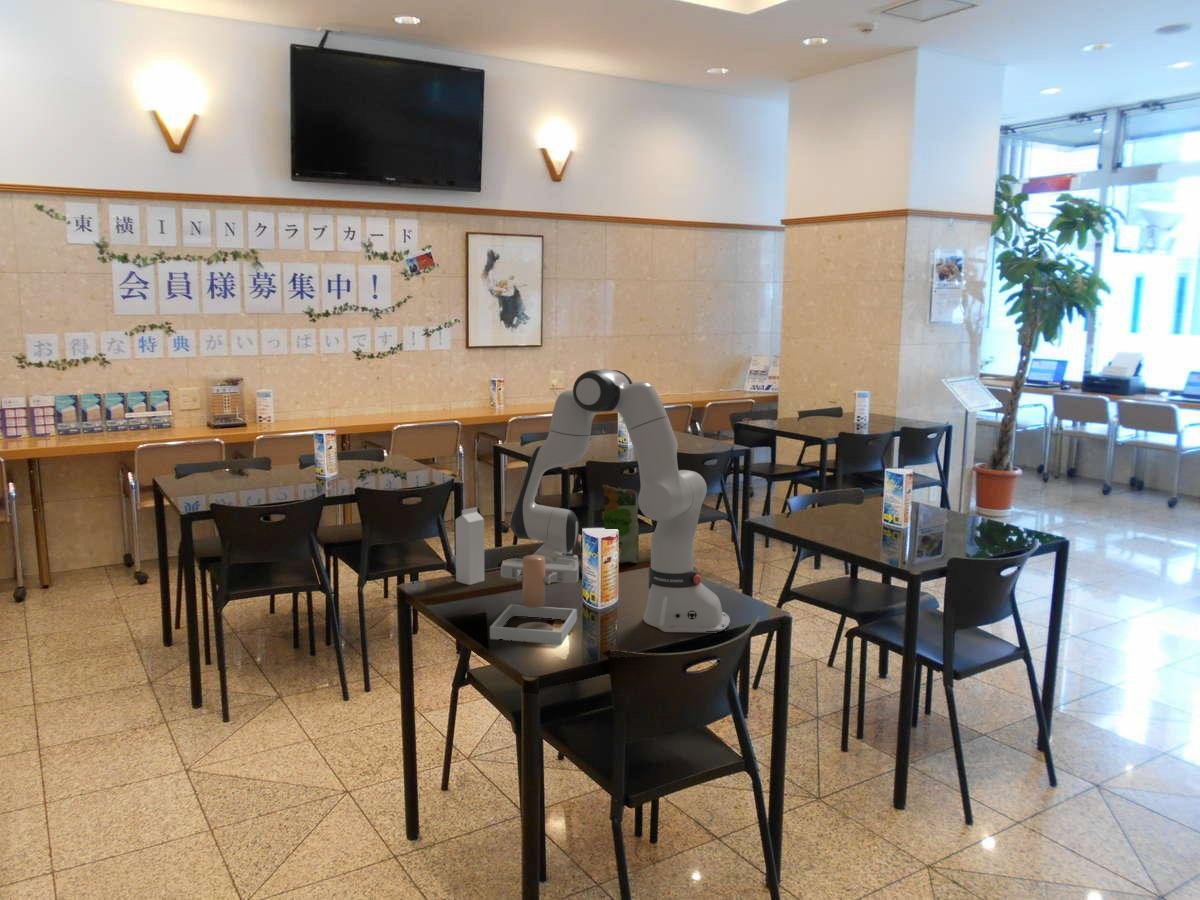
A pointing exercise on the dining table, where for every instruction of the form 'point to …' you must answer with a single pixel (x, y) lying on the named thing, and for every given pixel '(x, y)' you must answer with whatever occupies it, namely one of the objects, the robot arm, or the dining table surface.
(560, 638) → the white square frame
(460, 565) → the milk
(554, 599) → the dining table surface
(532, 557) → the canister
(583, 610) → the dining table surface
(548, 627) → the coaster
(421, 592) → the dining table surface
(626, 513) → the pouch
